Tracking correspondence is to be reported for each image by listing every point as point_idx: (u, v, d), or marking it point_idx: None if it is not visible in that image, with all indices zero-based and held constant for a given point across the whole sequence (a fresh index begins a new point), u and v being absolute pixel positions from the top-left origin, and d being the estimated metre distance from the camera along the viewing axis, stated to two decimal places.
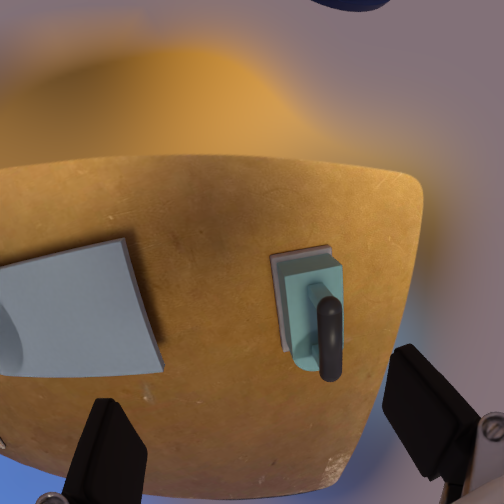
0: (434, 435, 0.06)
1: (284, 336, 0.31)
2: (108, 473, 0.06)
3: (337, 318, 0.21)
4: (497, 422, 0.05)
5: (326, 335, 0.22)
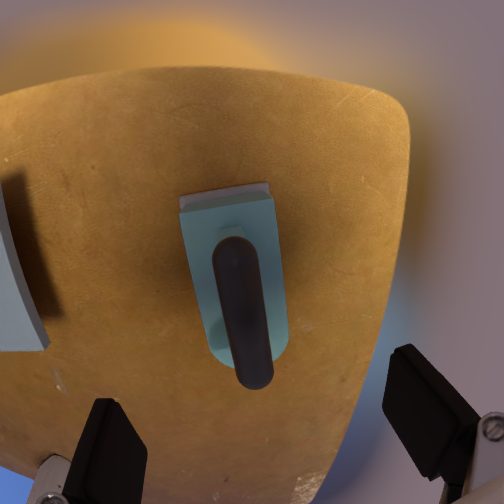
0: (434, 435, 0.06)
1: None
2: (108, 473, 0.06)
3: (244, 274, 0.12)
4: (497, 422, 0.05)
5: (229, 306, 0.13)
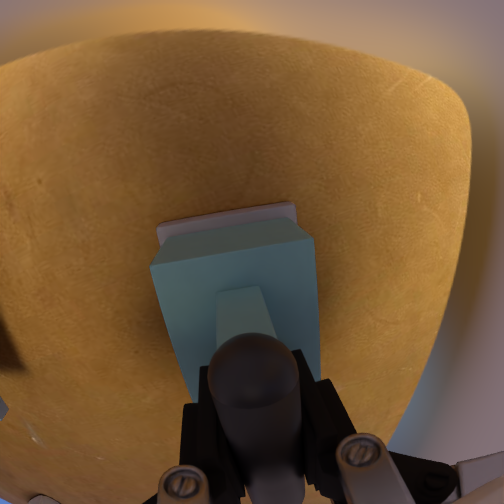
0: (303, 444, 0.07)
1: None
2: None
3: (275, 416, 0.05)
4: (359, 444, 0.06)
5: (243, 452, 0.06)
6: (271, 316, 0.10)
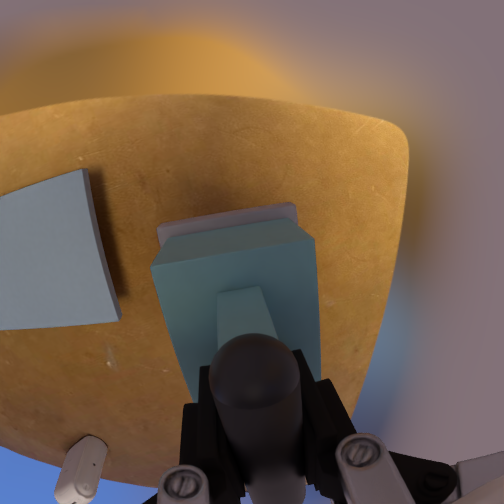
0: None
1: None
2: None
3: (276, 416, 0.05)
4: (359, 444, 0.06)
5: (244, 453, 0.06)
6: (272, 316, 0.10)
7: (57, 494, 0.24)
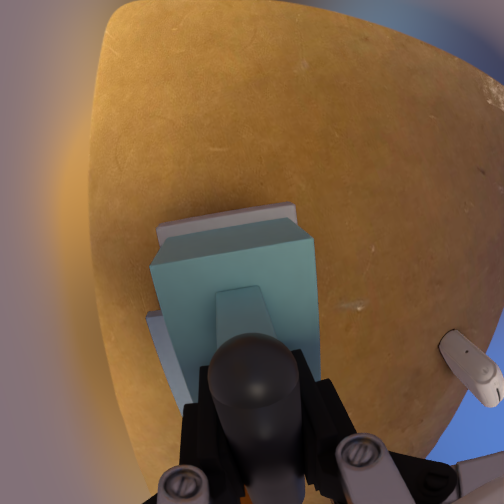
0: (303, 444, 0.07)
1: None
2: None
3: (275, 416, 0.05)
4: (359, 444, 0.06)
5: (243, 452, 0.06)
6: (271, 316, 0.10)
7: (486, 404, 0.26)
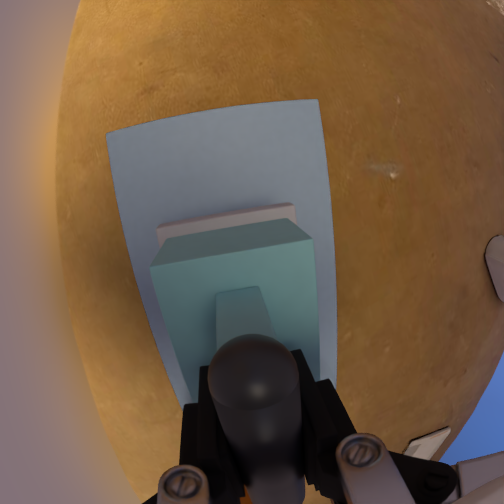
0: (303, 444, 0.07)
1: None
2: None
3: (275, 417, 0.05)
4: (359, 444, 0.06)
5: (243, 453, 0.06)
6: (271, 317, 0.10)
7: None
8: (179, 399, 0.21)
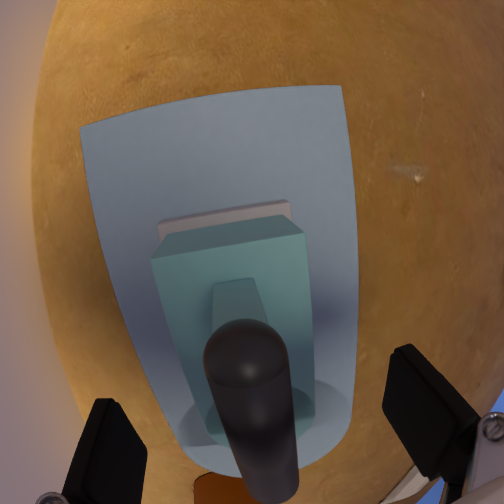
0: (434, 435, 0.06)
1: None
2: (108, 473, 0.06)
3: (265, 397, 0.06)
4: (497, 422, 0.05)
5: (237, 435, 0.06)
6: (265, 308, 0.10)
7: None
8: (175, 433, 0.18)
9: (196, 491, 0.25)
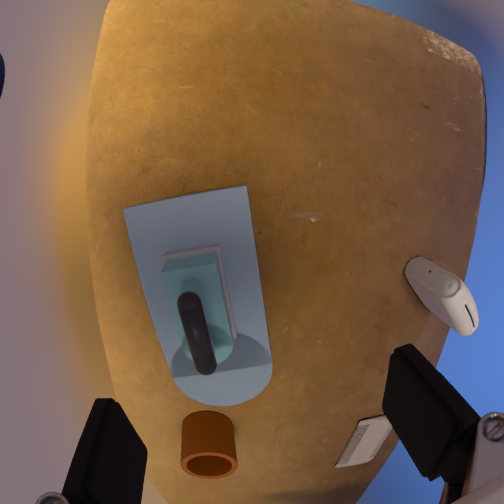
0: (434, 435, 0.06)
1: None
2: (108, 473, 0.06)
3: (192, 312, 0.23)
4: (497, 422, 0.05)
5: (186, 328, 0.23)
6: (203, 290, 0.27)
7: (459, 328, 0.32)
8: (169, 366, 0.35)
9: (183, 427, 0.42)
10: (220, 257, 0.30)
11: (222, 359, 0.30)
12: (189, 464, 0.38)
